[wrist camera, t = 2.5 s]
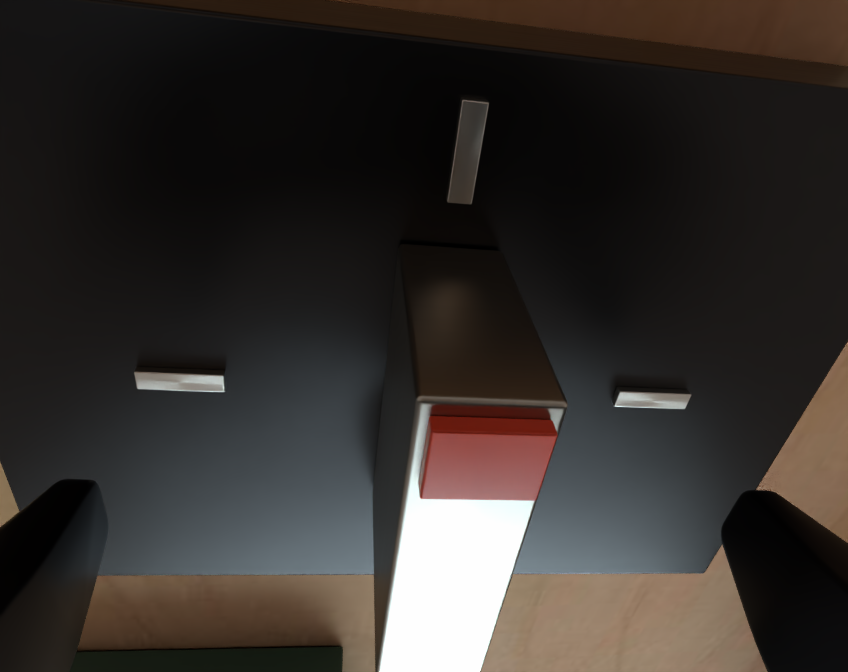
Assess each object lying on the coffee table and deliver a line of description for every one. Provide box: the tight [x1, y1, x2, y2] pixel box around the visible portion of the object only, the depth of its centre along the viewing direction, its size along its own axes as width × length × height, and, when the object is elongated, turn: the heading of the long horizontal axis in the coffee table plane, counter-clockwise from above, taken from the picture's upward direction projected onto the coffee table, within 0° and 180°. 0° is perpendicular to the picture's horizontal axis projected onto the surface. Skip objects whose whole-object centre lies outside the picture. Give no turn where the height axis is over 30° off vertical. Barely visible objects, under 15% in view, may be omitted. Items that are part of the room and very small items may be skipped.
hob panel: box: [0, 0, 848, 575], centre depth 12 cm, size 15×11×3 cm
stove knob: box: [373, 244, 568, 672], centre depth 9 cm, size 6×2×4 cm, turn 173°
